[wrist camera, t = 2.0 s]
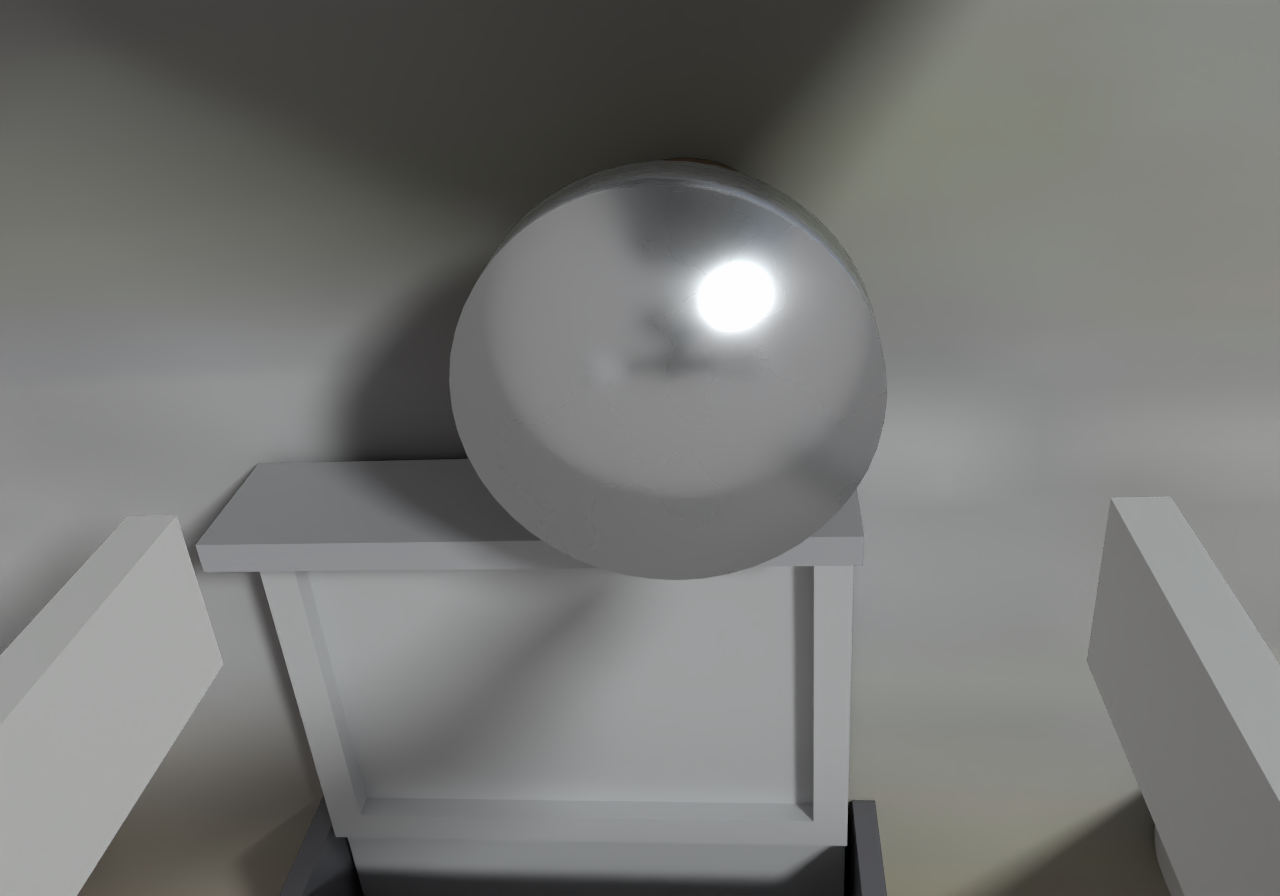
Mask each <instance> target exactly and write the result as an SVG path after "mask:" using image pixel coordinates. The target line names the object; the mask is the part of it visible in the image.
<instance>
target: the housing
mask: <svg viewBox="0 0 1280 896" xmlns="http://www.w3.org/2000/svg"><path fill="white" fill-rule="evenodd" d="M279 896H364V894H363V891H362V887H361V883H360V880H359V876H358V873H357V869H356V866H355V862H354V858H353V855H352V851H351V848H350V844H349V841H348V837H336V836H335V833H334V829H333V826H332V822H331V819H330V815H329V812H328V808H327V805H326V802H325V798H324V796H323V798H322V800H321V802H320V805H319V807H318V809H317V811H316V814H315V816H314V818H313V821H312V823H311V825H310V827H309V830H308V832H307V834H306V836H305V839H304V841H303V843H302V845H301V848H300V850H299V852H298V854H297V857H296V859H295V861H294V864H293V866H292V868H291V870H290V873H289V875H288V877H287V879H286V882H285V884H284V886H283V888H282V891H281V893H280V895H279ZM850 896H887V892H886V884H885V876H884V868H883V860H882V852H881V844H880V836H879V828H878V821H877V813H876V805H875V801H852V838H851V878H850Z"/></svg>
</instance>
